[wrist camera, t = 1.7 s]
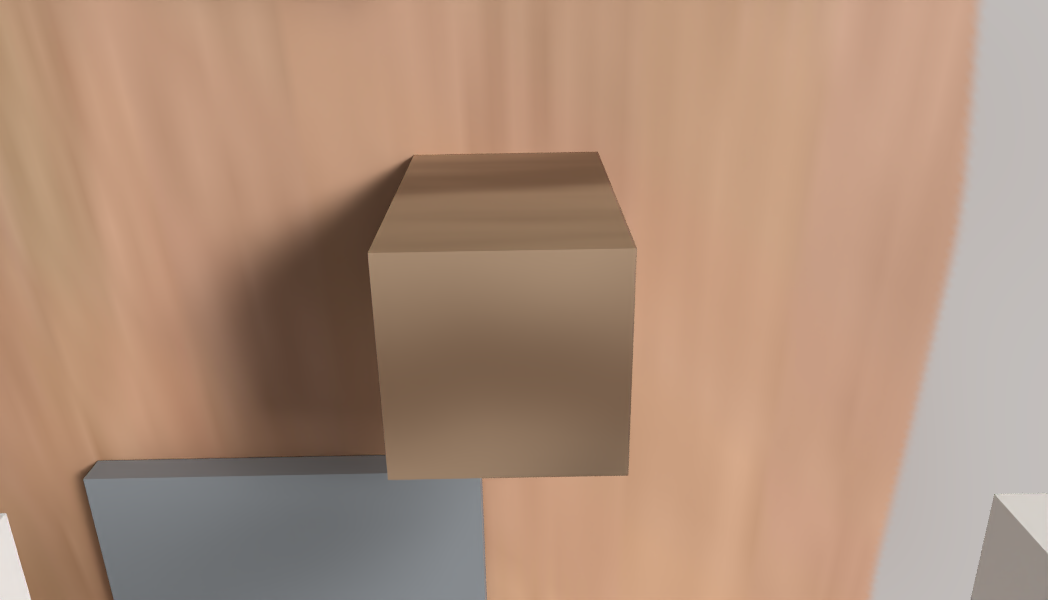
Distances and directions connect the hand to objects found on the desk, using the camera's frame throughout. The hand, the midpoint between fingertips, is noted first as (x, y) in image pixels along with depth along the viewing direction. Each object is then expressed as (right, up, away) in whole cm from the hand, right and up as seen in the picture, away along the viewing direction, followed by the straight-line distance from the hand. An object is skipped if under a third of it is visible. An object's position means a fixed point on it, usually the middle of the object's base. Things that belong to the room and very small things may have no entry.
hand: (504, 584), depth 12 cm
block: (0, +6, +13) cm, 14 cm away
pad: (-7, -7, +17) cm, 20 cm away
